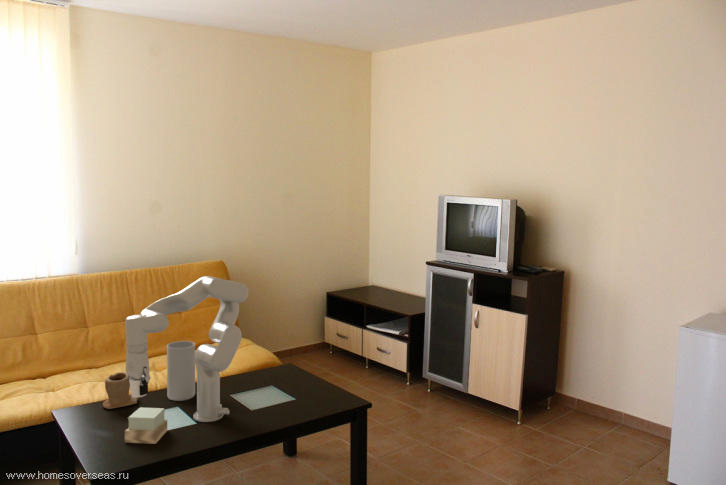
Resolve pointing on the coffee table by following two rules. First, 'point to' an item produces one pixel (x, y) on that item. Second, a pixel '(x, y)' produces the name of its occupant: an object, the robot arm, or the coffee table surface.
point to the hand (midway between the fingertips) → (139, 391)
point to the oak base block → (146, 434)
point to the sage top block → (146, 419)
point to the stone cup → (118, 391)
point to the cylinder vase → (180, 370)
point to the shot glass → (135, 387)
